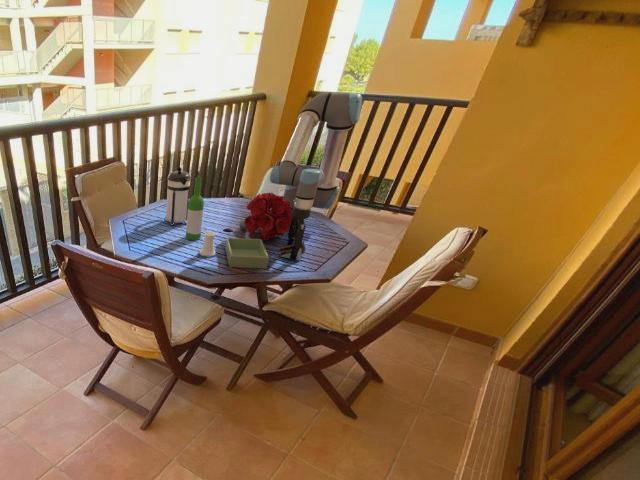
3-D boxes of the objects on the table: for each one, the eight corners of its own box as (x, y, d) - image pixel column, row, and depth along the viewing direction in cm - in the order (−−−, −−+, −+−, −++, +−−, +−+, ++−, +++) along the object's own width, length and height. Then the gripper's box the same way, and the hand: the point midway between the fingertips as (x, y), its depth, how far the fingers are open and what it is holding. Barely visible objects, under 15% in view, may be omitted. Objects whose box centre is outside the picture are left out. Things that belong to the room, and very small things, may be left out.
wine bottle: (188, 234, 209) (193, 175, 191) (202, 236, 205) (208, 177, 188) (183, 239, 203) (187, 179, 186) (197, 241, 200) (203, 181, 182)
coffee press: (194, 220, 226) (199, 165, 209) (182, 228, 215) (186, 171, 198) (167, 215, 234) (170, 162, 216) (155, 223, 223) (156, 167, 205)
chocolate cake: (274, 258, 182) (297, 246, 173) (276, 249, 186) (298, 236, 177) (286, 271, 185) (309, 259, 176) (288, 261, 189) (311, 250, 180)
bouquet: (230, 248, 209) (275, 236, 183) (223, 204, 206) (267, 185, 179) (259, 243, 219) (305, 231, 192) (252, 200, 216) (298, 182, 189)
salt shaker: (211, 257, 183) (214, 237, 177) (196, 254, 186) (198, 234, 180) (217, 252, 188) (220, 232, 182) (203, 249, 192) (205, 229, 186)
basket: (225, 248, 193) (226, 237, 190) (259, 249, 191) (261, 239, 188) (229, 266, 175) (230, 256, 172) (266, 268, 174) (269, 257, 171)
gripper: (288, 200, 178) (277, 246, 191) (299, 215, 161) (286, 265, 174) (305, 200, 177) (293, 247, 191) (318, 215, 160) (304, 266, 173)
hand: (290, 255), depth 182 cm, fingers closed on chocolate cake, 9 cm apart
